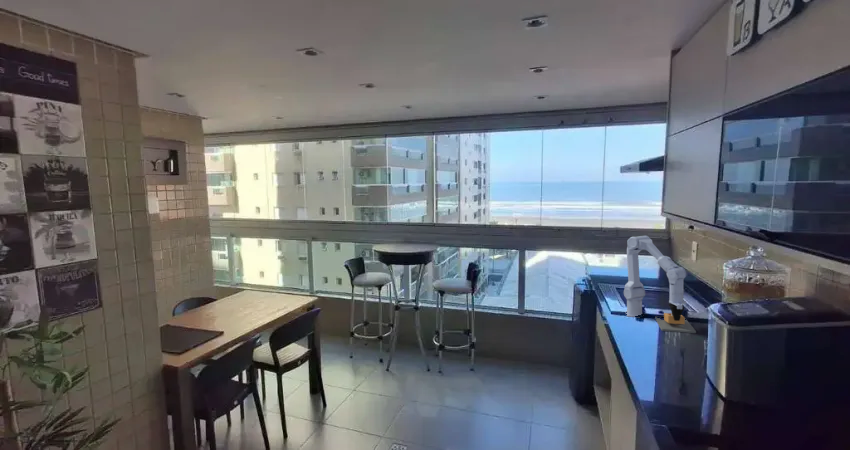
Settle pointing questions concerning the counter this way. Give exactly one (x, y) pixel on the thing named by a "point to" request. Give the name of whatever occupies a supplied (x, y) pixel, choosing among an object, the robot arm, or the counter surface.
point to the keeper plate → (675, 326)
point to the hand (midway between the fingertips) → (676, 319)
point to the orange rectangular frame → (670, 319)
